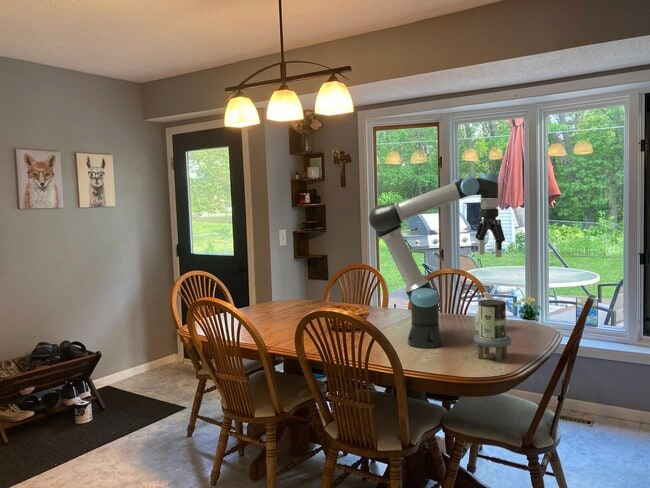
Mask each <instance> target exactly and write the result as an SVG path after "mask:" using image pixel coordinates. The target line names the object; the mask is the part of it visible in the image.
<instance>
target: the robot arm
mask: <svg viewBox="0 0 650 488" xmlns="http://www.w3.org/2000/svg"><path fill="white" fill-rule="evenodd" d="M471 196H480V208H481V209H480V217H481V218H479V219H478V226H477V230H476V233H475V239H477V241H478V255H479V256H480V255H485V254H486V253H485V251H486V244H485V243H486V240H485V237H486V235H487V233H488V231H489V230H490V231H491V234H492V235H493V237H494V258H498V259H499V258H502V257H503V255H502V252H503V251H502V250H503V248H502V247H503V244H502V243H503V242H505V241H506V238H505V234H504V230H503V227H502V220H501V219H499V218H498V217H499V208H498V207H499V202H500V201H499V175H498V174H497V173H495V172H488V173H487V172H486V173H485V172H484V173H481V174H480V177H477V178H475V177H472V176H468V177H465V178H456V179H453V181H452V183H450V184H447V185H444V186H440V187H438V188H435V189H433V190H430V191H427V192H425V193H422V194H419V195H417V196H414V197H411V198H409V199H406V200H404V201H401V202H397V201H394V202H392V203H387V204H379V205H377V206H375V207H374V208H372V210H371V211H370V213H369V216H368V221H369V224H370V227H371V228H373V229H374V231H375V232H376V235H377V237H378V239H380V240H383V242H384V243H385V245H386V248H387V250H388V251H389V254H390V255H391V257H392V259H393V262H394V264H395V266H396V268H397V270H398V271H399V273H400V275H401V278H402V280H403V282H404V283H405V286H406V288H405V293H406V295H407V298H408V299H409V301H410V305H411V308H410V309H411V328H410V330H409V333H408V336H407V337H408V338H407V345H409V346H411V347H414V348H419V349H435V348H439V347H442V346H443V345H444V338H443V335H442V332H441V329H440V321H439V319H440V315H439V314H440V313H439V311H440V309H439V307H440V306H439V304H440V303H439V302H440V301H439V300H440V296H439V292H438V291H437V290H435V289H433V287H432V285H431V283H430V281H429V280H428V279H426V278H424V276H423V274H422V273H421V270H420V268H419V266H418V264H417V262H416V260H415V258H414V256H413V253H411V250H410V248H409V246H408V244H407V242H406V240H405V238H404V236H403V234H402V228H403V227H402V224H403V223H404V221H405V220H407V219H410V218H413V217H415V216H419V215H421V214H423V213H426V212H429V211H432V210H435V209H438V208H440V207H443V206H447V205H448V204H451V203H454V202H457V201H459V200H462V199H464V198H467V197H471ZM497 218H498V219H497Z"/></svg>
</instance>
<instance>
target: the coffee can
mask: <svg viewBox="0 0 650 488" xmlns="http://www.w3.org/2000/svg"><path fill="white" fill-rule="evenodd" d="M478 304H479V307H478V309H479V331H478V332H479V333H478V334H479V337H480V338H482V339H485V340H503V339H506V335H507V332H506V331H507V329H506V328H507V322H506V321H507V319H506V318H507V317H506V314H507V313H506V312H507V309H506V308H507V306H506V304H507V302H506V301H505V300H501V299H495V300H483V299H481V300H479V301H478Z"/></svg>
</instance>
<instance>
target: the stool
mask: <svg viewBox="0 0 650 488" xmlns="http://www.w3.org/2000/svg"><path fill="white" fill-rule="evenodd" d="M473 343H474V344H475V345H477V359H478V360H483V359H484V355H490V348H495V362H498V363H499V362H502V358H507V356H508V353H507V352H508V350H507V348H508V347H509V346H511V344H512V337H511V336H510V335H507V334H506V339H503V340H485V339H482V338H480V337H479V333H477V334H474V335H473Z"/></svg>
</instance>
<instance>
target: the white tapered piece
mask: <svg viewBox="0 0 650 488" xmlns="http://www.w3.org/2000/svg"><path fill="white" fill-rule="evenodd" d="M483 296H484V297H483V298H482V300H496V299H495V298H494V296H492V295H491V294H490V293H489V292H488V291H487V292H486V291H484V292H483ZM477 307H478V308H477V311H476V314H475V315H476V316H475V317H474V330H475V331H477V332H479V303H477Z"/></svg>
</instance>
